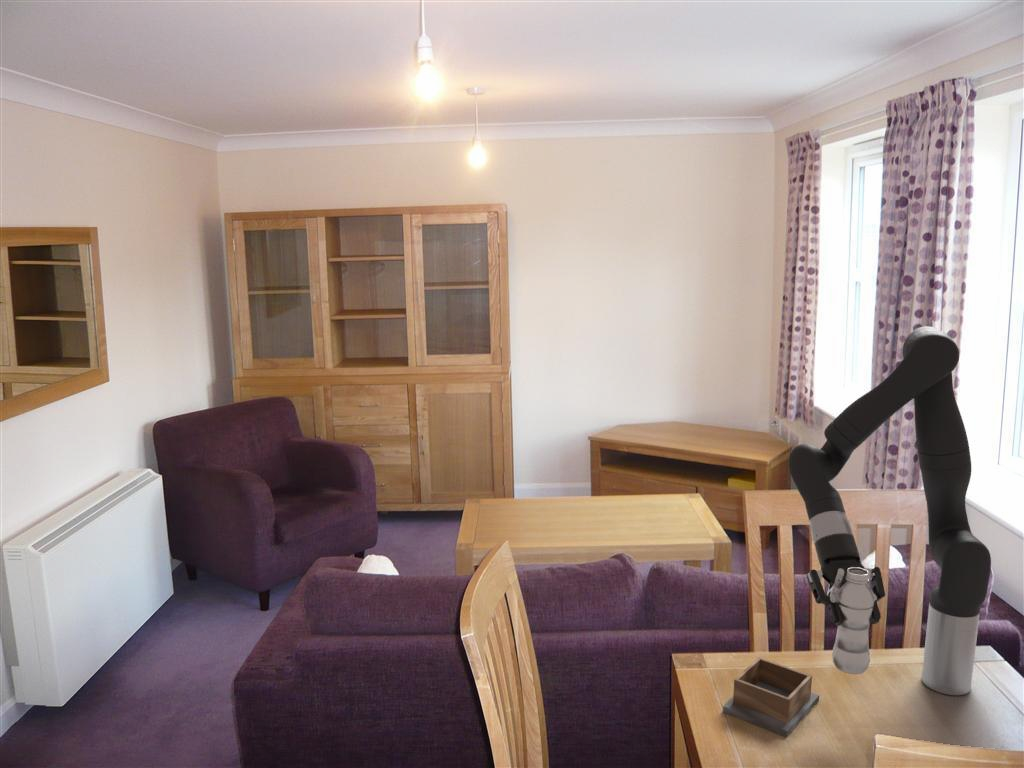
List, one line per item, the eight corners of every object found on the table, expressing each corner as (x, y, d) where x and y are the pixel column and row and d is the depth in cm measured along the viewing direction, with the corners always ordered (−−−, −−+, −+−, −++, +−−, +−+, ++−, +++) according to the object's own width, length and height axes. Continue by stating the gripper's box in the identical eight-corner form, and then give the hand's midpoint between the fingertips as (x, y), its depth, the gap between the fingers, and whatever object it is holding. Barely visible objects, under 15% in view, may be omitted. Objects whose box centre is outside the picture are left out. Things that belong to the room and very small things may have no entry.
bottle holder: (757, 678, 182) (759, 651, 181) (818, 700, 174) (821, 672, 173) (722, 711, 170) (724, 682, 169) (786, 737, 162) (788, 707, 161)
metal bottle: (872, 680, 160) (881, 580, 156) (833, 676, 162) (841, 577, 157) (865, 662, 166) (874, 565, 162) (828, 659, 168) (836, 562, 164)
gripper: (804, 533, 166) (827, 619, 157) (876, 530, 167) (903, 615, 158) (791, 548, 172) (813, 631, 163) (861, 545, 173) (886, 628, 164)
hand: (857, 623), depth 160 cm, fingers closed on metal bottle, 6 cm apart
